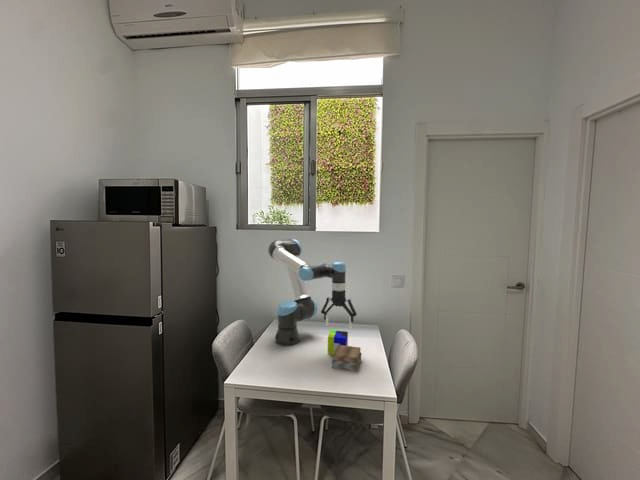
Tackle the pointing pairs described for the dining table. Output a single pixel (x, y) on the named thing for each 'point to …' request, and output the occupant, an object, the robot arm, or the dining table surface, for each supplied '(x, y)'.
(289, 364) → the dining table surface
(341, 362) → the plinth
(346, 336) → the puzzle toy
